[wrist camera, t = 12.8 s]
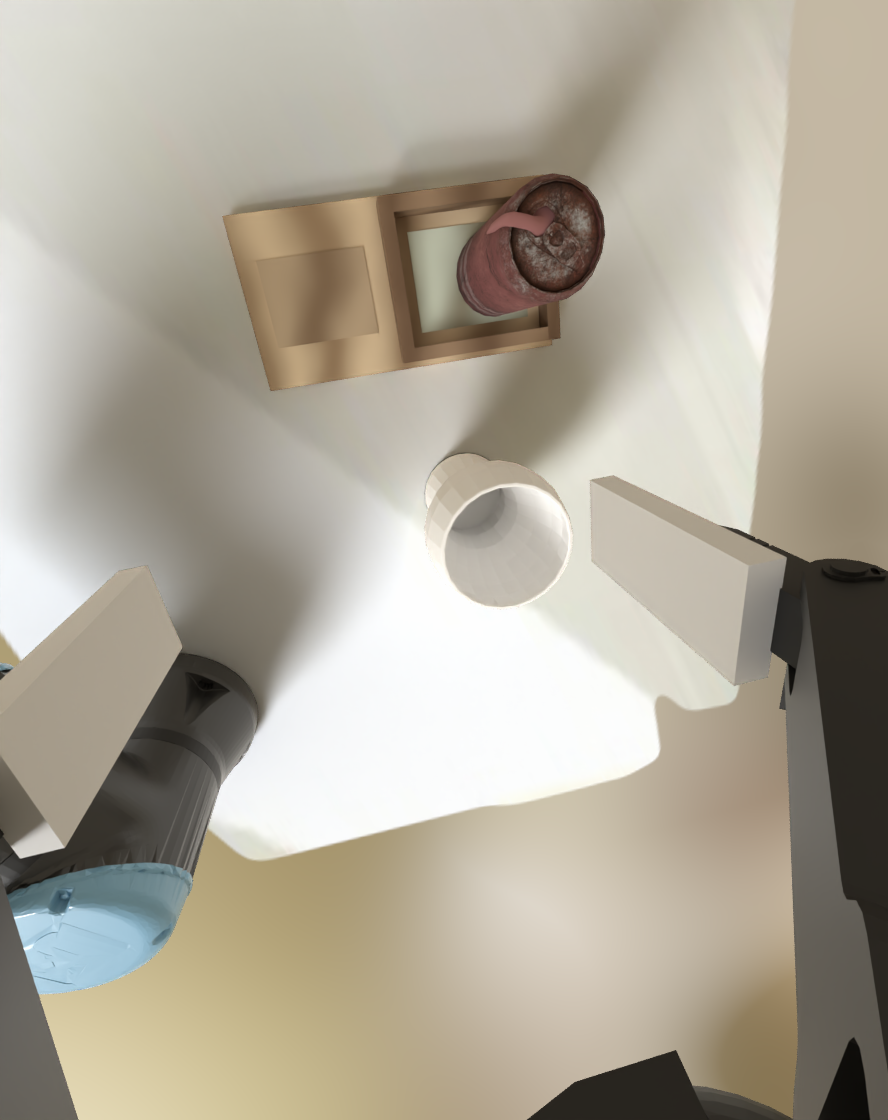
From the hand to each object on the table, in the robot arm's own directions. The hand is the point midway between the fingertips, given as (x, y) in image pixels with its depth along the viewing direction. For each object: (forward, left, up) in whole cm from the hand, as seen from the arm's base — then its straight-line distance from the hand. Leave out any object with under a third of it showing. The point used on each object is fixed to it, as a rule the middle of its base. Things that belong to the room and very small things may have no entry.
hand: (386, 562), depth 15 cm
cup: (+8, -8, -32) cm, 34 cm away
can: (+12, +10, -30) cm, 34 cm away
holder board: (+5, +10, -32) cm, 34 cm away
